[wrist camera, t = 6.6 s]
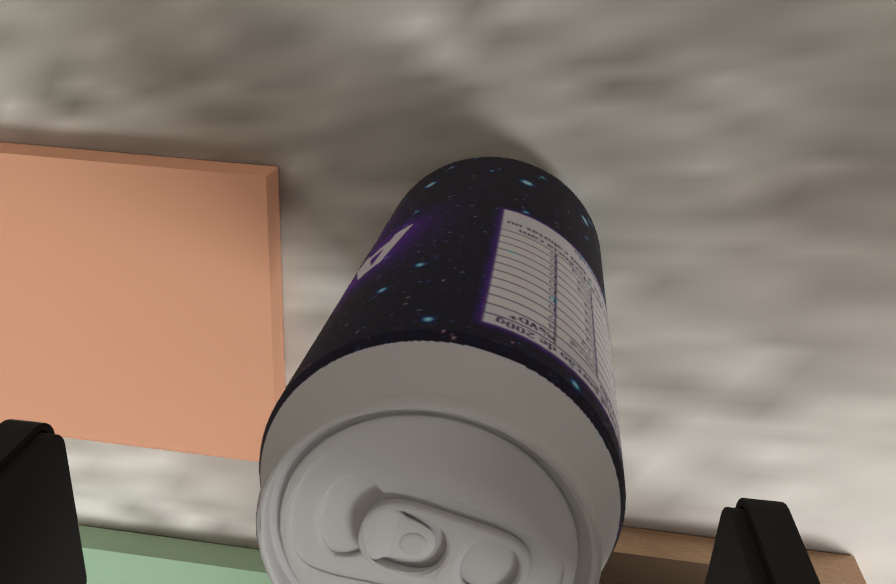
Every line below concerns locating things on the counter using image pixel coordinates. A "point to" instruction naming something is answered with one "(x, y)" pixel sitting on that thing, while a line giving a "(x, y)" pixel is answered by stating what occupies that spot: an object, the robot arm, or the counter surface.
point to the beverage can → (455, 400)
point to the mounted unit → (695, 560)
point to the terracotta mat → (140, 298)
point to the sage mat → (165, 560)
